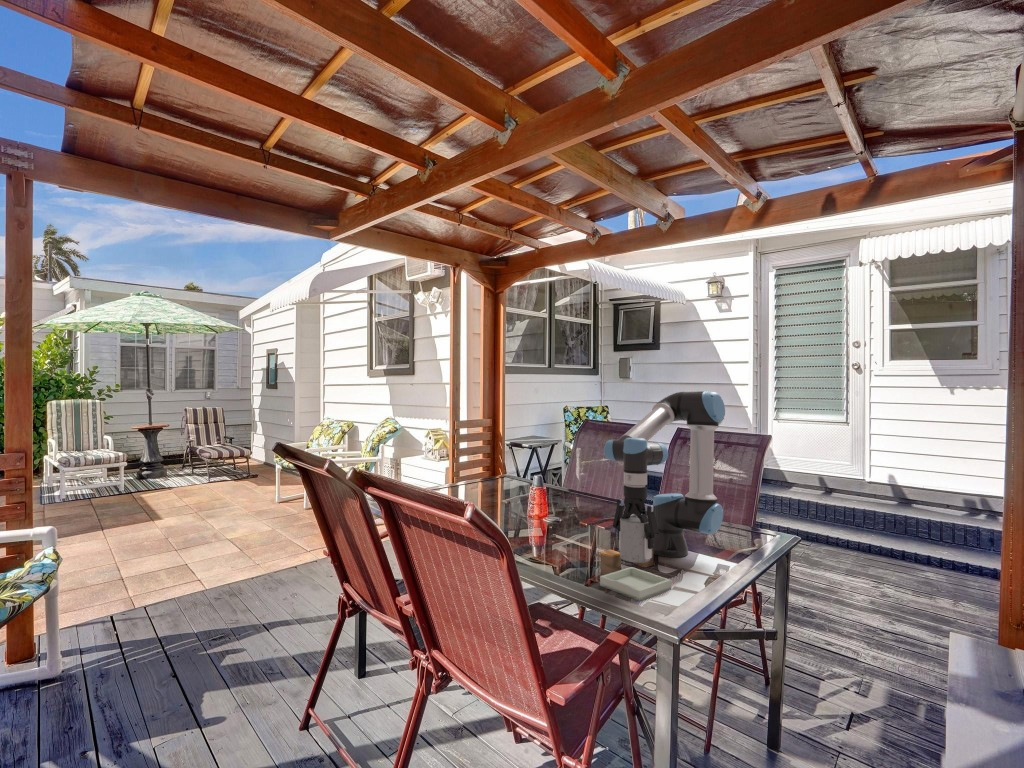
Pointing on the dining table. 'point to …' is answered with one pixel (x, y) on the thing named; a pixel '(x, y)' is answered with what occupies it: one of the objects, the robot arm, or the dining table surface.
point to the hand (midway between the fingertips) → (635, 554)
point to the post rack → (616, 562)
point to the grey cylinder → (632, 540)
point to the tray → (635, 583)
